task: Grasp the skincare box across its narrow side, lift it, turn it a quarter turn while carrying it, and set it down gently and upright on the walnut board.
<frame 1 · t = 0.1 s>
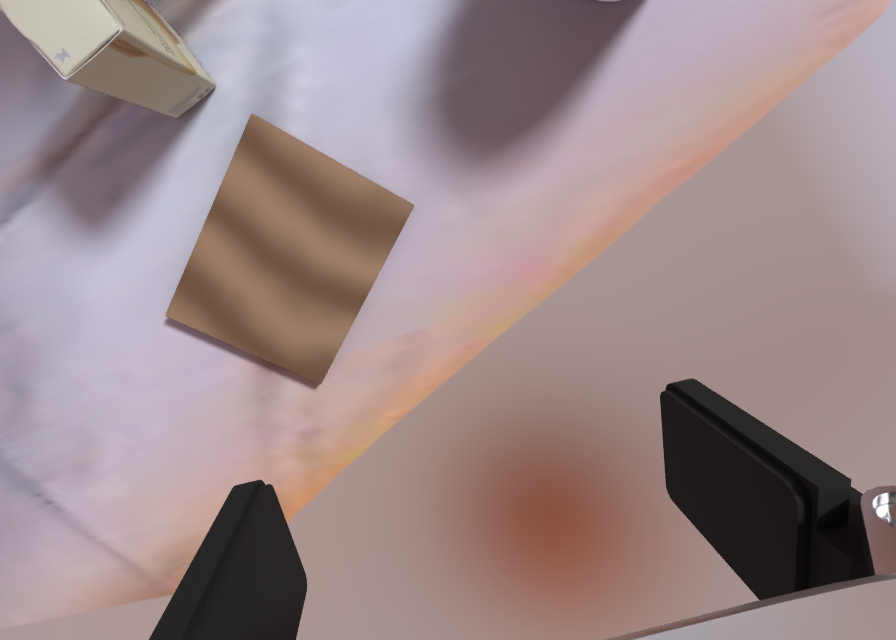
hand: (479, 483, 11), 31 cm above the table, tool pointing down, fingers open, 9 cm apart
skincare box: (168, 65, 34), on the table
walnut board: (292, 258, 39), on the table
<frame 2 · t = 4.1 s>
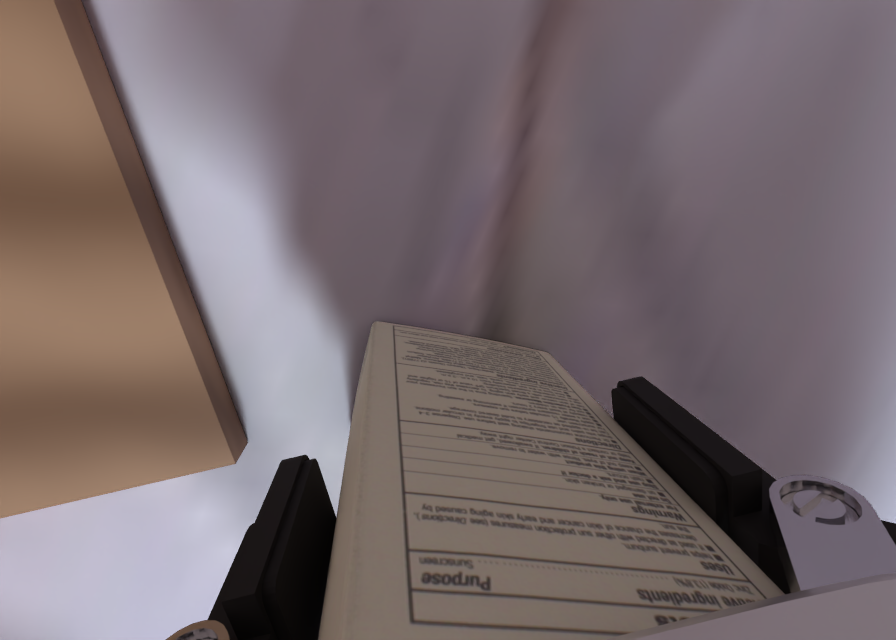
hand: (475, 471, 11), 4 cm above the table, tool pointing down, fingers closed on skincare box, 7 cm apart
skincare box: (454, 391, 15), on the table, touching gripper
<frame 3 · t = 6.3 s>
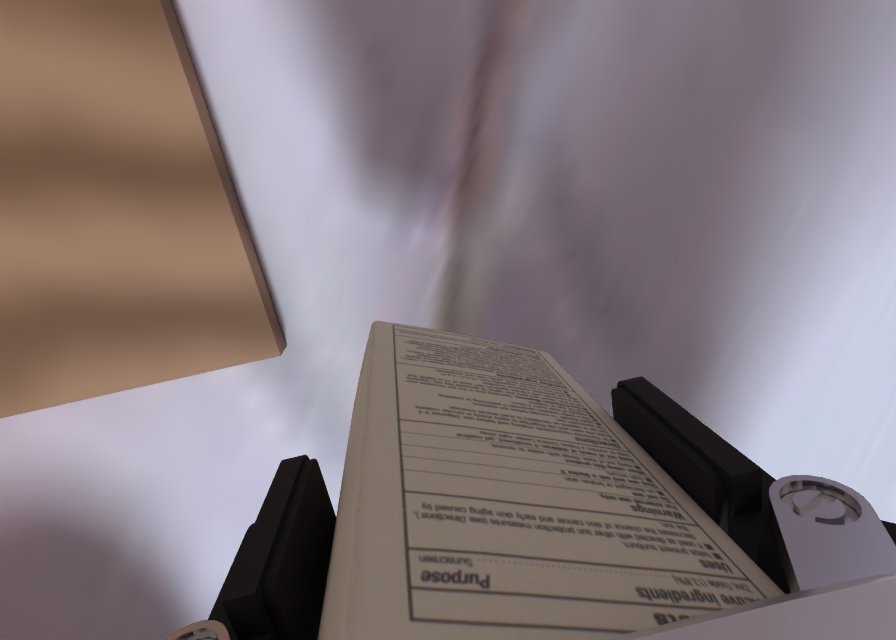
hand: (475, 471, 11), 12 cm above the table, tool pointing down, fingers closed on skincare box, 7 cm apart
skincare box: (454, 391, 16), point 7 cm above the table, touching gripper
walnut board: (48, 182, 18), on the table
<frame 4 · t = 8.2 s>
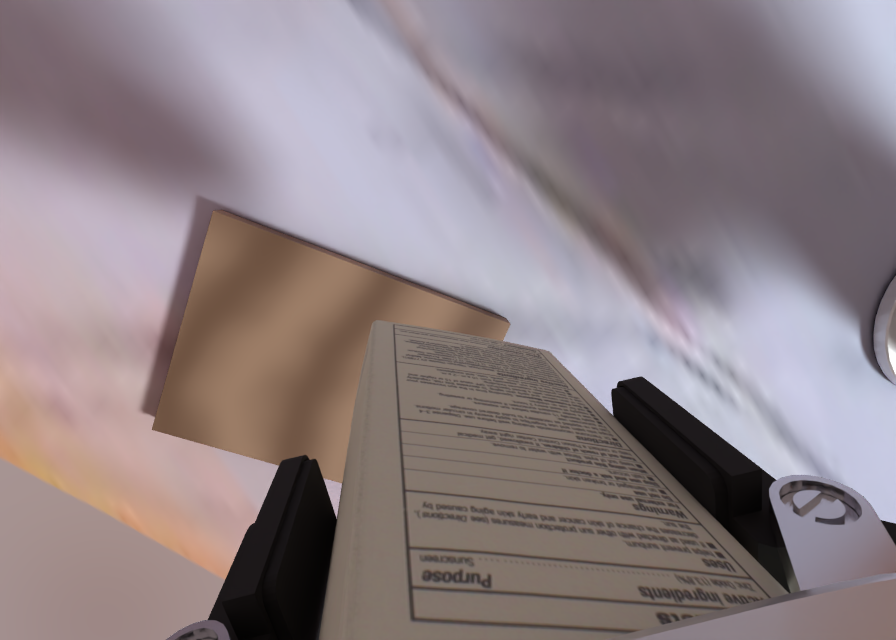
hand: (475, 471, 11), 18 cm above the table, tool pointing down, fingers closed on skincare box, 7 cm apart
skincare box: (454, 390, 15), point 13 cm above the table, touching gripper
walnut board: (335, 368, 29), on the table
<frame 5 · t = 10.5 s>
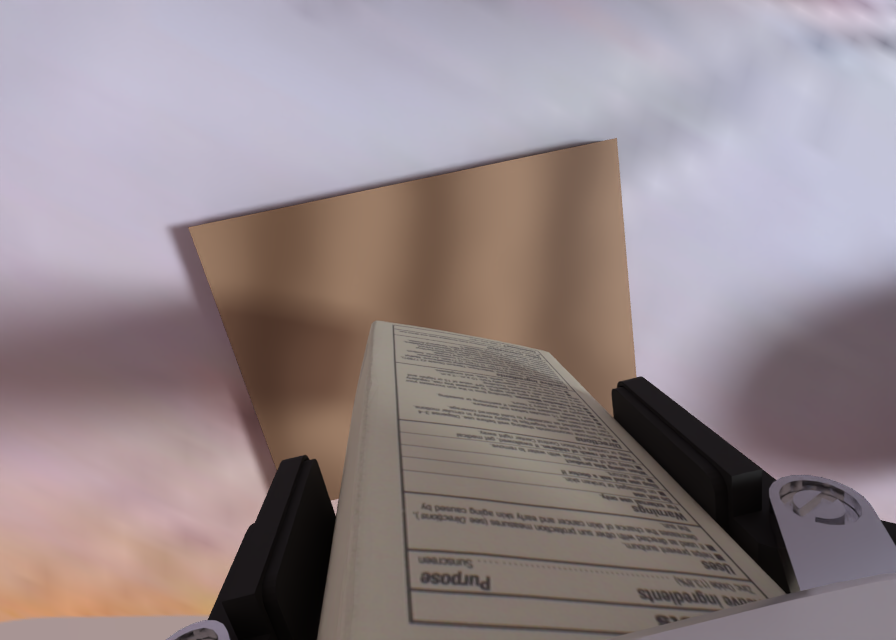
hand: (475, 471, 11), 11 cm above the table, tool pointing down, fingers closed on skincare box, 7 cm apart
skincare box: (454, 391, 15), point 7 cm above the table, touching gripper
walnut board: (438, 331, 22), on the table
when the fingers open (7 cm above the table, at t = 12.5 s): skincare box drops 1 cm, resting on walnut board.
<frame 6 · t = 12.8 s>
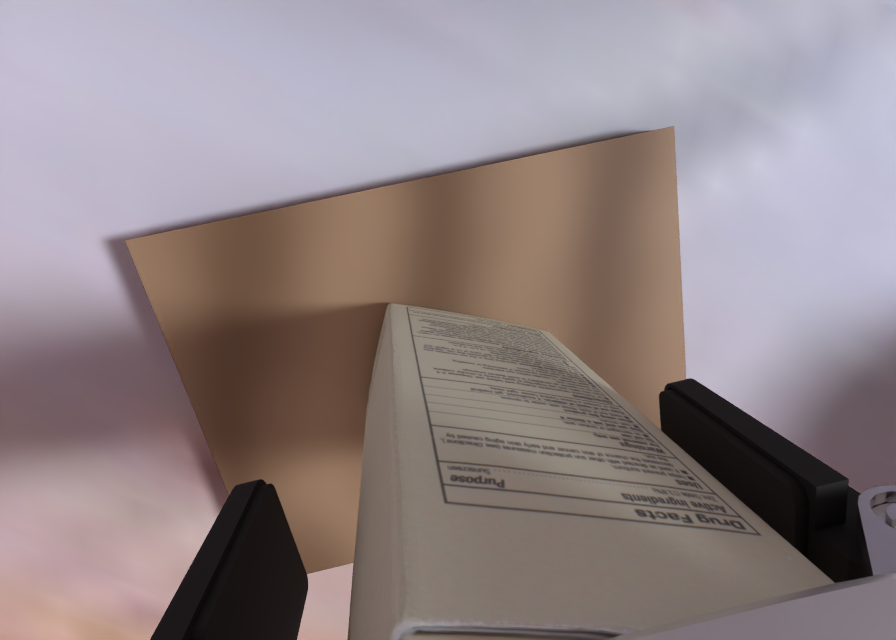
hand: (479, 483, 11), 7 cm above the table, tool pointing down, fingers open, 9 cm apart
skincare box: (462, 368, 17), point 1 cm above the table, touching walnut board
walnut board: (446, 365, 18), on the table
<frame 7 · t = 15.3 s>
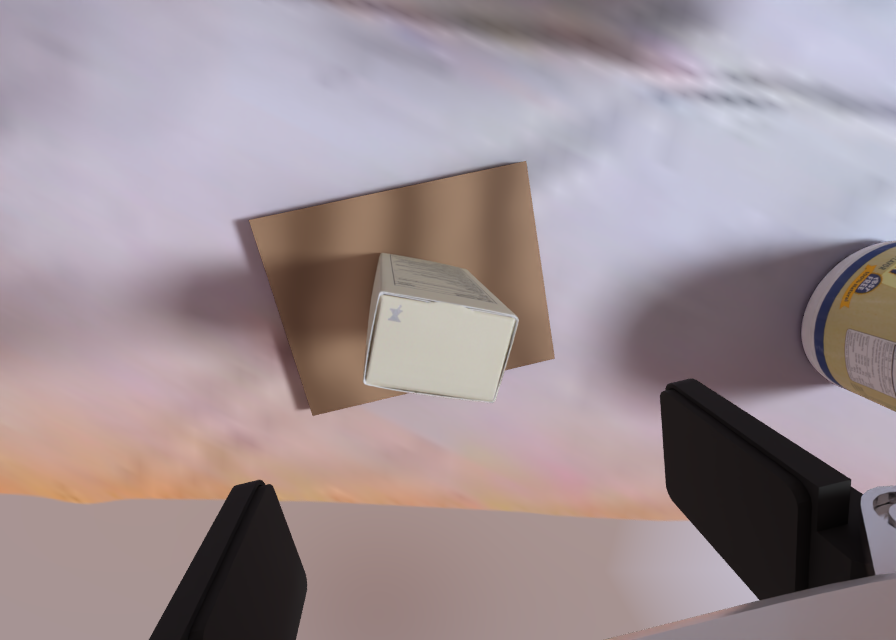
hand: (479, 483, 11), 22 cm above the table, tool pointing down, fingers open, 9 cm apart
skincare box: (420, 290, 31), point 1 cm above the table, touching walnut board
supplement tub: (860, 313, 37), on the table
walnut board: (413, 291, 32), on the table
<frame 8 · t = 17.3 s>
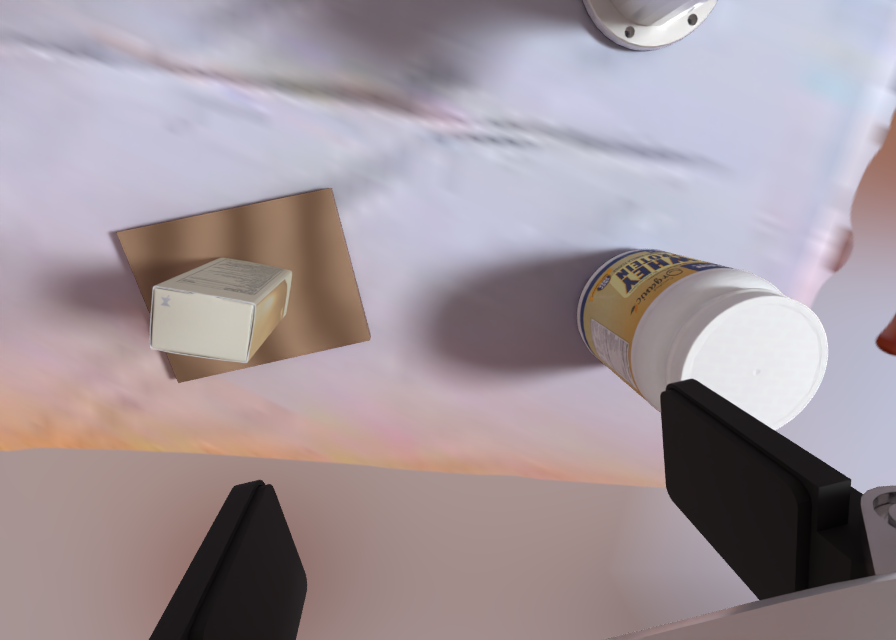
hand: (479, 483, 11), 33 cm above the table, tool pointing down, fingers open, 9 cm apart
skincare box: (257, 286, 41), point 1 cm above the table, touching walnut board
supplement tub: (629, 306, 46), on the table
walnut board: (254, 286, 42), on the table
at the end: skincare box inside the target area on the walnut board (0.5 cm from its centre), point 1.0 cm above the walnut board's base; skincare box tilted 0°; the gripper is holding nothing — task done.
